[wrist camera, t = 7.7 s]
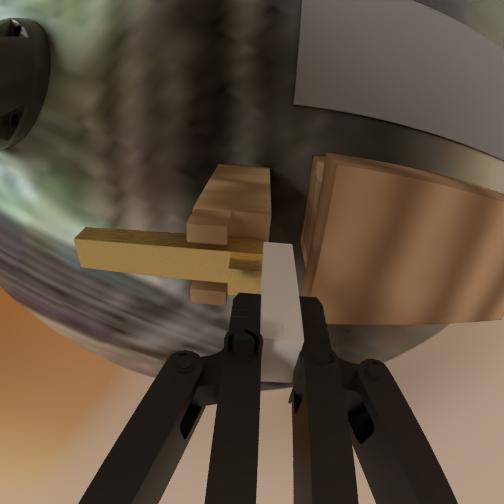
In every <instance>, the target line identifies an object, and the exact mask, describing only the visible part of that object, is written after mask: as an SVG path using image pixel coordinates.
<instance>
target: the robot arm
mask: <svg viewBox="0 0 504 504" xmlns="http://www.w3.org/2000/svg"><path fill="white" fill-rule="evenodd" d="M49 68H50V56H49V47H48V43H47V39H46V36H45V34H44V32H43V30H42V29H41V27H40V26H39V25H38V24H37V23H36V22H34V21H32V20H30V19H23V18H8V19H3V20H1V21H0V151H1V150H3V149H6V148H8V147H10V146H13V145H15V144H16V143H18V142H19V141H20V140H22V139H23V138H24V137H25V135H26V134H27V133H28V132H29V130H30V129H31V127H32V126H33V124H34V123H35V121H36V119H37V117H38V114H39V112H40V110H41V107H42V104H43V101H44V98H45V94H46V90H47V85H48V79H49ZM292 379H293V382H294V386H293V389H292V392H291V395H290V398H289V403H291V402H292V425H293V470H294V471H293V472H294V504H358V494H357V485H356V484H357V483H356V474H355V465H354V457H353V449H352V445H353V447H354V450H355V452H356V454H357V457H358V459H359V462H360V464H361V467H362V469H363V472H364V474H365V477H366V479H367V482H368V484H369V487H370V489H371V492H372V494H373V497H374V499H375V502H376V504H458V503H457V501H456V498H455V496H454V494H453V492H452V490H451V487H450V485H449V483H448V481H447V479H446V477H445V475H444V473H443V470H442V468H441V466H440V464H439V463H438V461H437V458H436V456H435V454H434V452H433V450H432V448H431V446H430V445H429V442H428V440H427V438H426V437H425V435H424V433H423V431H422V429H421V427H420V425H419V423H418V422H417V420H416V418H415V416H414V414H413V412H412V410H411V408H410V407H409V405H408V403H407V401H406V399H405V398H404V396H403V394H402V392H401V390H400V389H399V387H398V385H397V383H396V382H395V380H394V378H393V376H392V375H391V373H390V371H389V370H388V368H387V367H386V366H385V364H383V363H382V362H380V361H379V360H375V359H367V360H364V361H362V362H361V363H360V365H357V364H354V363H350V362H347V361H344V360H342V359H340V358H338V357H337V355H336V353H335V352H334V351H333V350H332V349H331V345H330V340H329V335H328V329H327V324H326V319H325V315H324V309H323V305H322V303H321V302H320V301H319V300H318V298H317V297H305V296H299V291H298V284H297V276H296V268H295V261H294V253H293V246H292V244H284V243H272V242H264V244H263V258H262V277H261V286H260V294H253V293H241V292H239V293H238V294H237V296H236V297H235V298H234V299H233V306H232V312H231V319H230V326H229V331H228V332H227V333H226V336H225V338H224V349H223V350H221V351H220V352H219V353H217V354H214V355H210V356H204V357H200V356H199V355H198V354H196V353H194V352H192V351H187V350H184V351H178V352H176V353H174V354H172V355H171V356H170V357H169V358H168V359H167V361H166V363H165V364H164V366H163V367H162V369H161V370H160V372H159V374H158V375H157V377H156V378H155V380H154V381H153V383H152V385H151V386H150V388H149V390H148V391H147V393H146V394H145V396H144V397H143V399H142V401H141V402H140V404H139V405H138V407H137V409H136V410H135V412H134V413H133V415H132V417H131V418H130V420H129V422H128V423H127V425H126V426H125V428H124V430H123V431H122V433H121V435H120V436H119V438H118V439H117V441H116V442H115V444H114V446H113V447H112V449H111V451H110V452H109V454H108V456H107V457H106V459H105V460H104V462H103V464H102V465H101V467H100V469H99V470H98V472H97V474H96V475H95V477H94V479H93V480H92V482H91V484H90V485H89V487H88V488H87V490H86V492H85V493H84V495H83V497H82V498H81V500H80V502H79V504H158V503H159V501H160V499H161V497H162V495H163V493H164V491H165V489H166V487H167V485H168V483H169V481H170V479H171V477H172V475H173V473H174V471H175V469H176V467H177V465H178V463H179V461H180V459H181V457H182V455H183V453H184V451H185V449H186V447H187V445H188V442H189V440H190V438H191V436H192V434H193V432H194V430H195V428H196V426H197V424H198V422H199V419H200V418H201V415H202V413H203V411H204V409H205V407H206V405H213V404H217V410H216V418H215V425H214V433H213V441H212V449H211V456H210V464H209V472H208V480H207V488H206V496H205V504H256V488H257V465H258V441H259V413H260V385H261V381H267V382H290V383H291V382H292Z"/></svg>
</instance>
